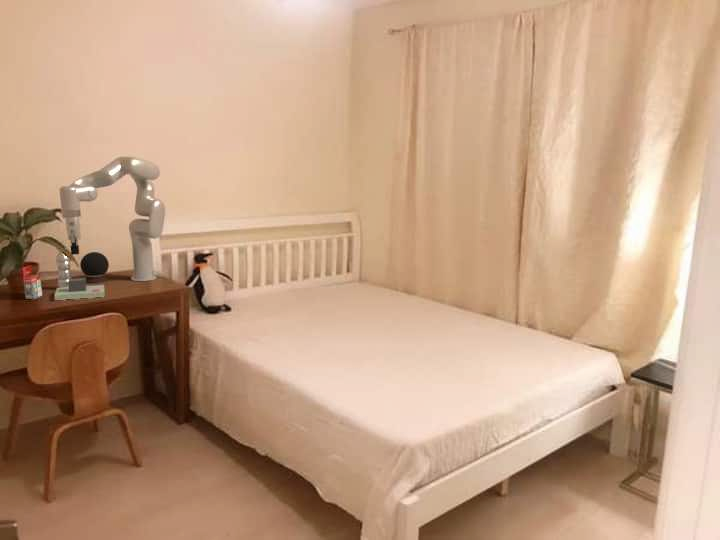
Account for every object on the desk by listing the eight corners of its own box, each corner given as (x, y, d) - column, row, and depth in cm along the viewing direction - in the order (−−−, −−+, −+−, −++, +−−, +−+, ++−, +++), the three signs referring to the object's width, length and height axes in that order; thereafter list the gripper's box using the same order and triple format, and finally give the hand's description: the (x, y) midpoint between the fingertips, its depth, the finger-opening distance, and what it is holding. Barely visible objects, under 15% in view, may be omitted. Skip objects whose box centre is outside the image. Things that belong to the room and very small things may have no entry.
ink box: (42, 295, 257) (39, 264, 254) (33, 300, 249) (30, 268, 246) (34, 295, 257) (31, 264, 254) (25, 300, 249) (21, 267, 246)
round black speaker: (82, 279, 290) (80, 250, 287) (110, 277, 296) (108, 249, 292) (80, 284, 279) (78, 255, 276) (109, 282, 284) (107, 253, 281)
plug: (86, 292, 262) (85, 277, 261) (86, 294, 258) (85, 280, 256) (70, 293, 259) (68, 278, 258) (69, 296, 255) (68, 281, 253)
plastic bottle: (74, 286, 274) (70, 246, 270) (72, 289, 268) (68, 248, 264) (59, 287, 272) (55, 246, 268) (57, 290, 266) (53, 249, 262)
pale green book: (104, 289, 270) (103, 283, 269) (104, 297, 256) (103, 290, 255) (57, 293, 261) (56, 286, 261) (54, 301, 248) (54, 293, 247)
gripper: (80, 215, 246) (83, 256, 250) (81, 211, 259) (84, 250, 263) (60, 216, 243) (65, 257, 247) (63, 212, 256) (67, 251, 260)
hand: (75, 253), depth 255 cm, fingers closed
